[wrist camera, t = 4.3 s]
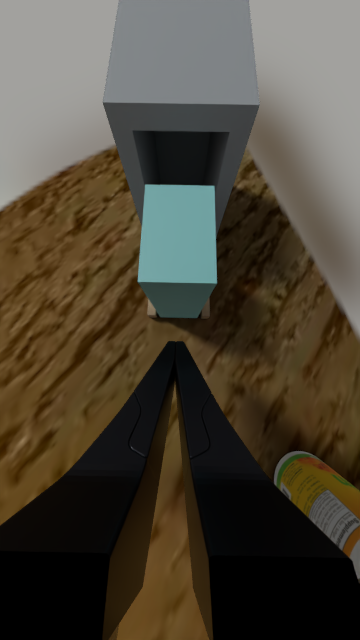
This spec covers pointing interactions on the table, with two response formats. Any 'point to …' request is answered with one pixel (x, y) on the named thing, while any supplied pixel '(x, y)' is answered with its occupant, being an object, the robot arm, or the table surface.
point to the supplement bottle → (323, 499)
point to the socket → (182, 93)
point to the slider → (178, 248)
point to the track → (203, 314)
